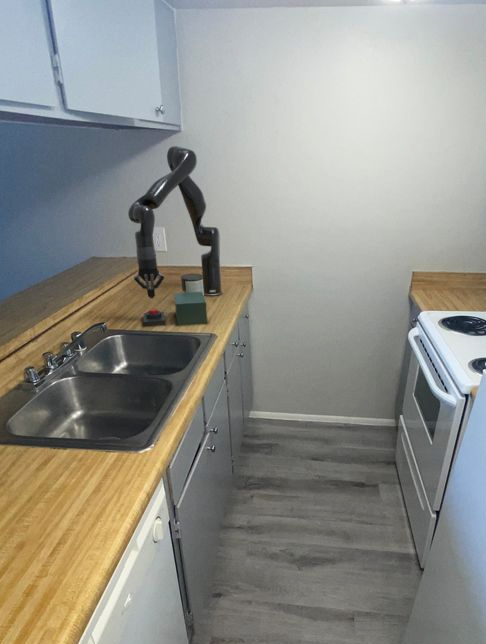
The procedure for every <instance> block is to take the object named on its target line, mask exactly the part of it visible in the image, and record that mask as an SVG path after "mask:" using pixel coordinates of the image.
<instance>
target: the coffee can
mask: <svg viewBox="0 0 486 644" xmlns="http://www.w3.org/2000/svg"><path fill="white" fill-rule="evenodd" d="M180 280H181V291H182V293H191V292H202V293H203V296H204V297H205V295H204V288H203V275H202V274H200V273H185V274H182V275H181V276H180Z"/></svg>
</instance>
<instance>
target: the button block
mask: <svg viewBox="0 0 486 644" xmlns="http://www.w3.org/2000/svg"><path fill="white" fill-rule="evenodd" d="M165 315H166V314H165V311H161V310H158V313H157V314H149V310H148V311H146V312H143V317H142V318H143V323H142V324H143V327H144V328H145V327H146V328H147V327H156V326H158V327H159V326H166V316H165Z"/></svg>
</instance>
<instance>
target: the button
mask: <svg viewBox="0 0 486 644" xmlns="http://www.w3.org/2000/svg"><path fill="white" fill-rule="evenodd" d="M148 311H149V314H157V313H158V311H159V310H158V309H157V308H150V309H148Z"/></svg>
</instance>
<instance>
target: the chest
mask: <svg viewBox="0 0 486 644" xmlns="http://www.w3.org/2000/svg"><path fill="white" fill-rule="evenodd" d="M173 298H174V299H175V297H173ZM174 308H175V317H176V322H177V326H191V325H193V326H194V325H205V324H206V325H207V324H208V315H207V303H206V304H196V305H180V306H176V303H175V302H174Z"/></svg>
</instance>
